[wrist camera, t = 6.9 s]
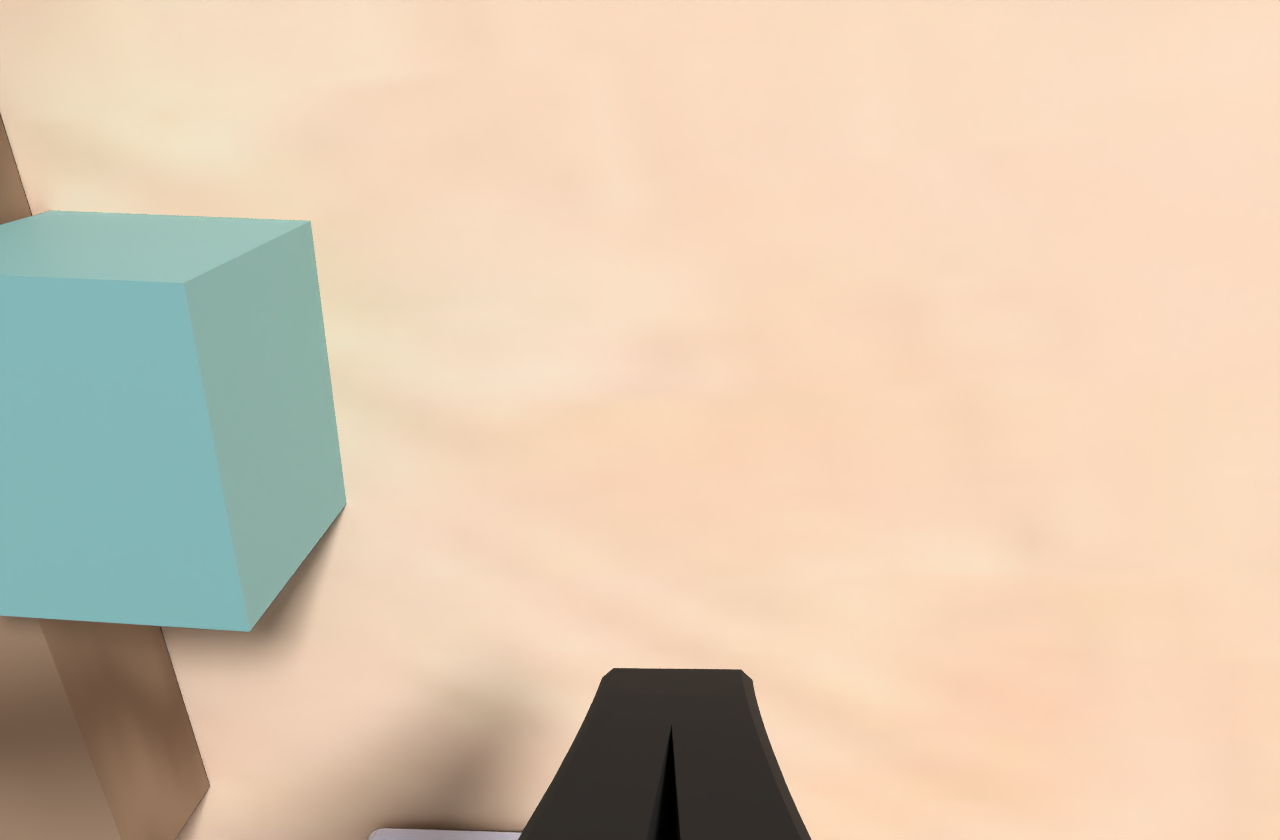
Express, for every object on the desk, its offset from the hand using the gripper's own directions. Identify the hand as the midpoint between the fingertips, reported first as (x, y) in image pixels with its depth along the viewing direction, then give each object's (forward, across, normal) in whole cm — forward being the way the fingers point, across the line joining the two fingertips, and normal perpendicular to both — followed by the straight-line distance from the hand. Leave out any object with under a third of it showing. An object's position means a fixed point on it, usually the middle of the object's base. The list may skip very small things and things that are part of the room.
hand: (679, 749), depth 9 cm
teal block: (+10, +10, -1) cm, 14 cm away
